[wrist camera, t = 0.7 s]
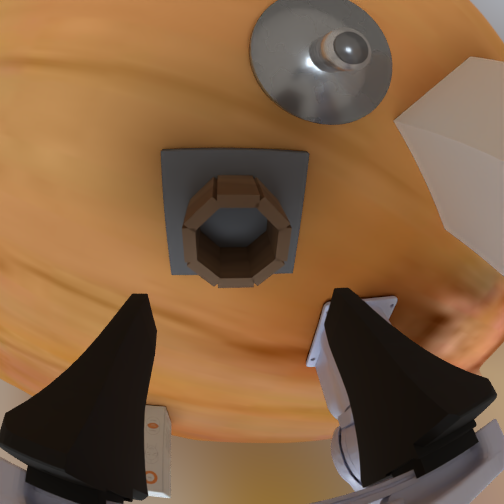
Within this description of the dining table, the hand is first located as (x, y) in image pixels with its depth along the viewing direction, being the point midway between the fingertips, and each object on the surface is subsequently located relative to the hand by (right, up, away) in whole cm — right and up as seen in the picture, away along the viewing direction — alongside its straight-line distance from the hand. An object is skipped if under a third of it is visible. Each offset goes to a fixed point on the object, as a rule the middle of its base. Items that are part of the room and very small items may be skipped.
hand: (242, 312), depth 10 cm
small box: (-15, -21, +22) cm, 34 cm away
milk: (+18, +12, +6) cm, 23 cm away
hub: (+5, +14, +3) cm, 15 cm away
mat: (-1, +5, +8) cm, 9 cm away
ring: (-1, +4, +8) cm, 9 cm away
